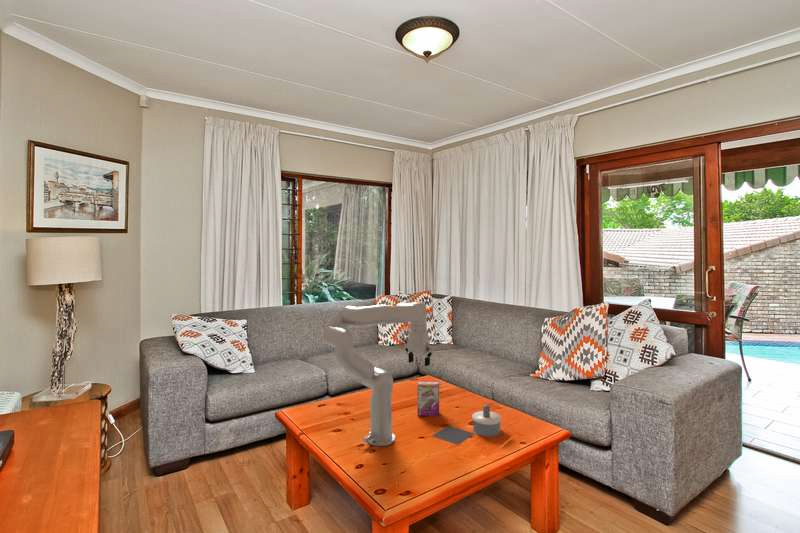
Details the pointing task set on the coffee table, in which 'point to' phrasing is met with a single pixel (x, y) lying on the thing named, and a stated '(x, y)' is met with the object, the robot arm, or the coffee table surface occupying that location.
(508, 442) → the coffee table surface
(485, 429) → the pot
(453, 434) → the mat
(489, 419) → the lid
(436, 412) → the candy bar box
